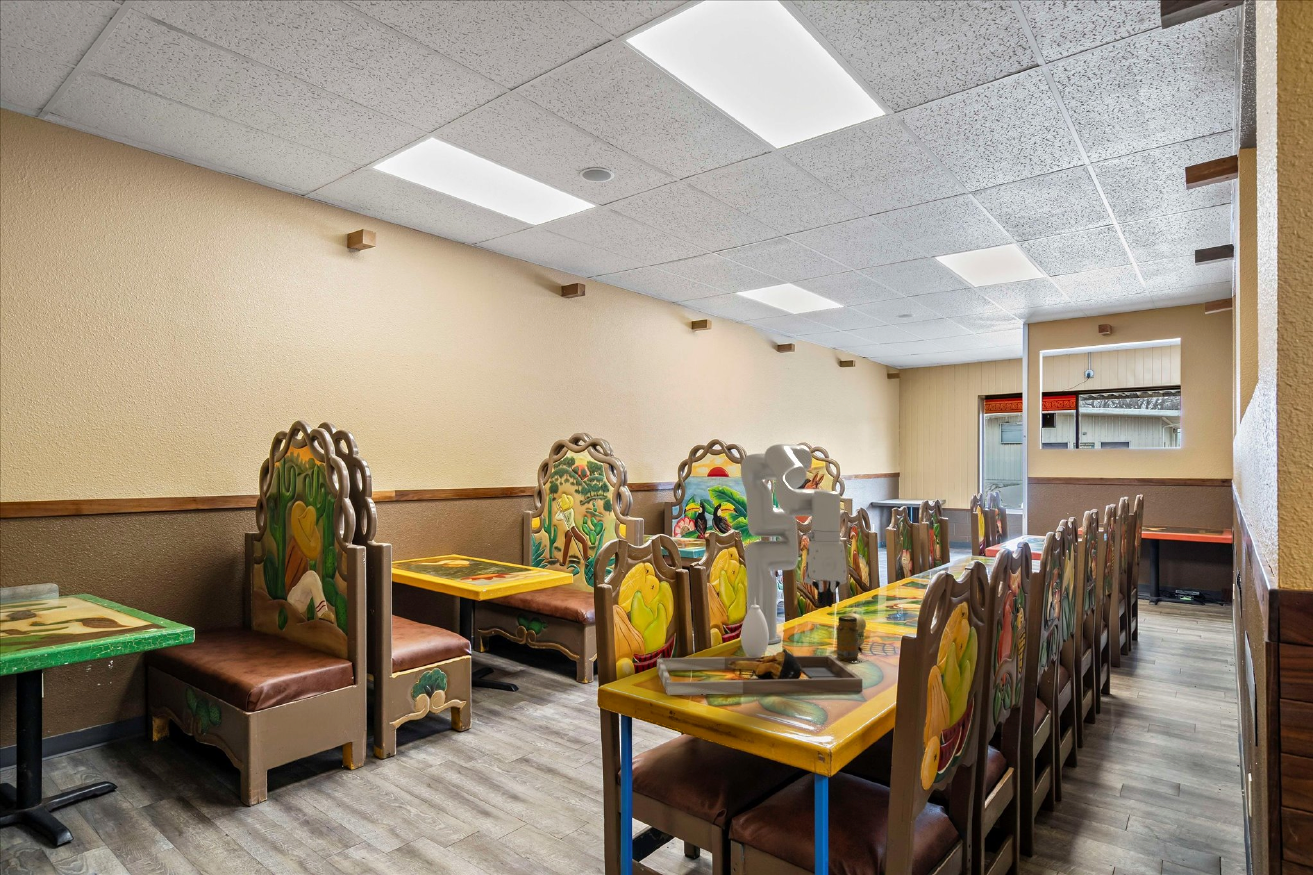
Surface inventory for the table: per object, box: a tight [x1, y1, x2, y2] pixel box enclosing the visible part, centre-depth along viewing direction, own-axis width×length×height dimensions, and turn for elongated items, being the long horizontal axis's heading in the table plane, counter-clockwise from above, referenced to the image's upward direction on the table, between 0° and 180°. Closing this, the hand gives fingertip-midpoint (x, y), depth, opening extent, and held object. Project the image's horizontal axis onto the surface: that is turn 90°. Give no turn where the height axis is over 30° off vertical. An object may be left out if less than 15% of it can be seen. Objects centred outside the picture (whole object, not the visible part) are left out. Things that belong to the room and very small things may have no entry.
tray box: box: [656, 654, 863, 696], centre depth 189 cm, size 22×49×3 cm, turn 97°
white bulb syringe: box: [740, 597, 769, 657], centre depth 210 cm, size 8×8×18 cm
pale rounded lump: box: [843, 610, 867, 647], centre depth 224 cm, size 8×7×12 cm
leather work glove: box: [728, 648, 802, 680], centre depth 189 cm, size 9×11×18 cm
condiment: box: [832, 615, 869, 664], centre depth 211 cm, size 7×8×12 cm
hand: (825, 605), depth 192 cm, fingers closed
